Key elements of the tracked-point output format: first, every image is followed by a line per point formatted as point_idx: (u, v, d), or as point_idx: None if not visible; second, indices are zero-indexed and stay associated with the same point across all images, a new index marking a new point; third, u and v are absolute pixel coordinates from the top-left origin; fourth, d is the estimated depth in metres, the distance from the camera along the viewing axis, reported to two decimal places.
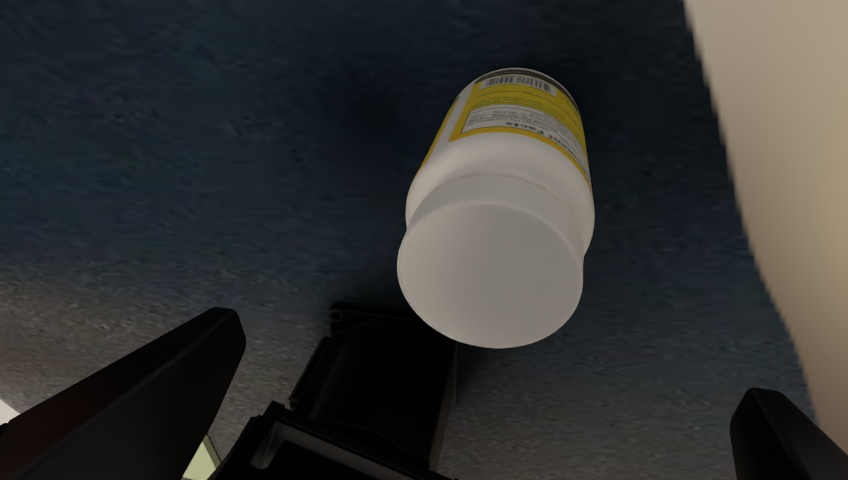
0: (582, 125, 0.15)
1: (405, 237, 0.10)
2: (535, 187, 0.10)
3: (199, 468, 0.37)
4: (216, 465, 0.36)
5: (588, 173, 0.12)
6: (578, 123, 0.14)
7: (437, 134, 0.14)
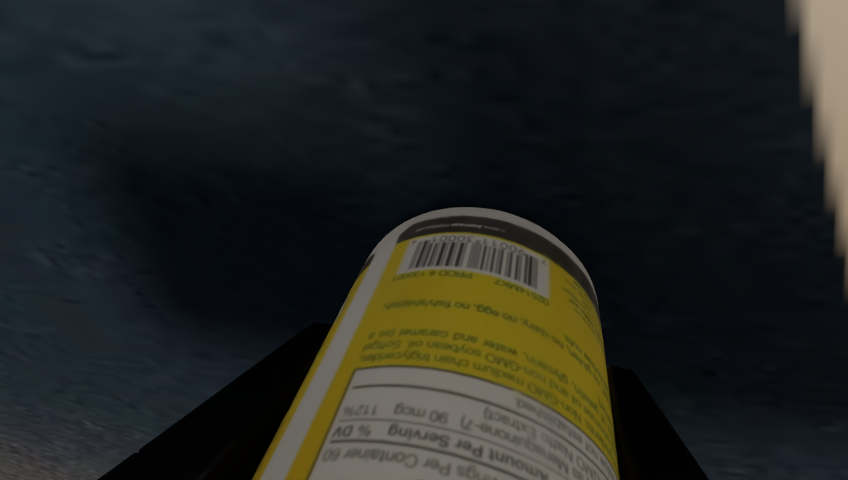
0: (599, 318, 0.08)
1: None
2: None
3: None
4: None
5: None
6: (594, 348, 0.07)
7: (307, 374, 0.07)
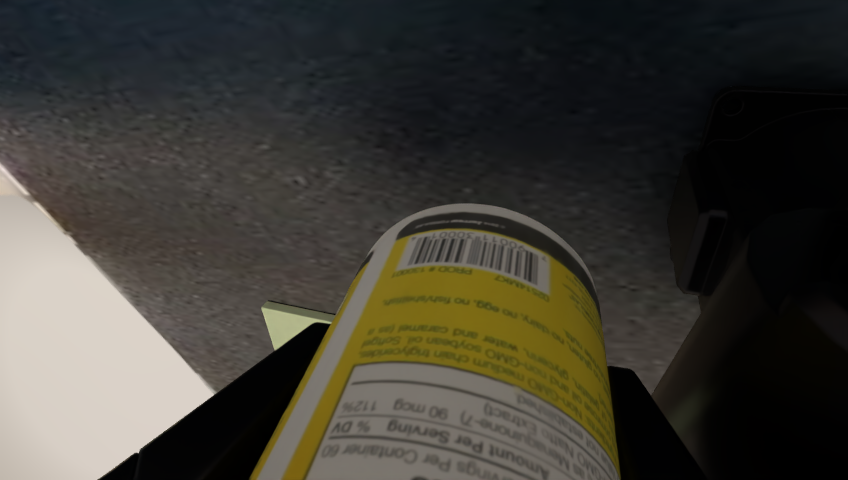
0: (599, 315, 0.08)
1: None
2: None
3: None
4: None
5: None
6: (594, 344, 0.07)
7: (306, 371, 0.07)
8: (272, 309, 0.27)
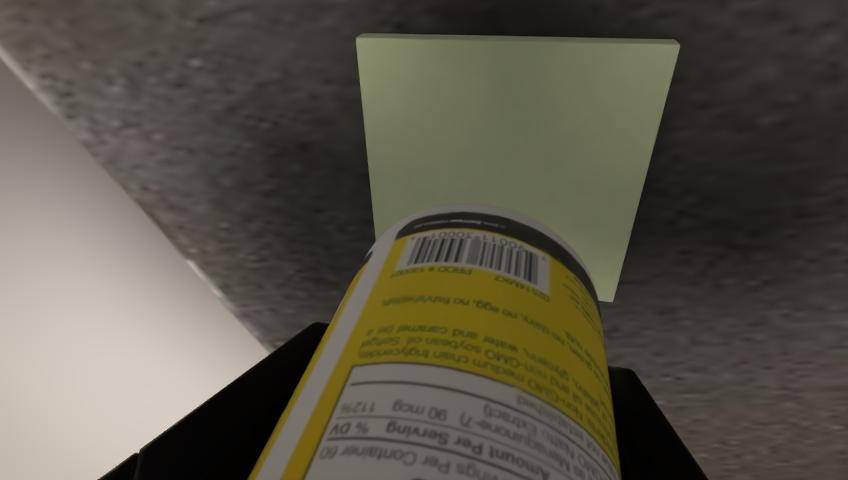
0: (600, 315, 0.08)
1: None
2: None
3: (572, 244, 0.15)
4: None
5: None
6: (595, 345, 0.07)
7: (305, 371, 0.07)
8: (382, 37, 0.13)
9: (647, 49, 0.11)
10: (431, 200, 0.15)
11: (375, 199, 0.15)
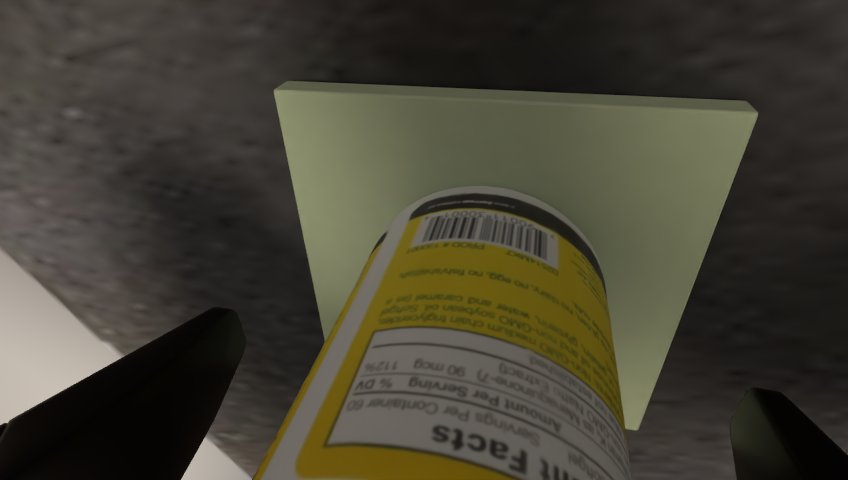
0: (605, 293, 0.08)
1: None
2: None
3: None
4: None
5: None
6: (601, 317, 0.07)
7: (325, 342, 0.07)
8: (310, 90, 0.09)
9: (706, 118, 0.07)
10: None
11: (319, 294, 0.11)
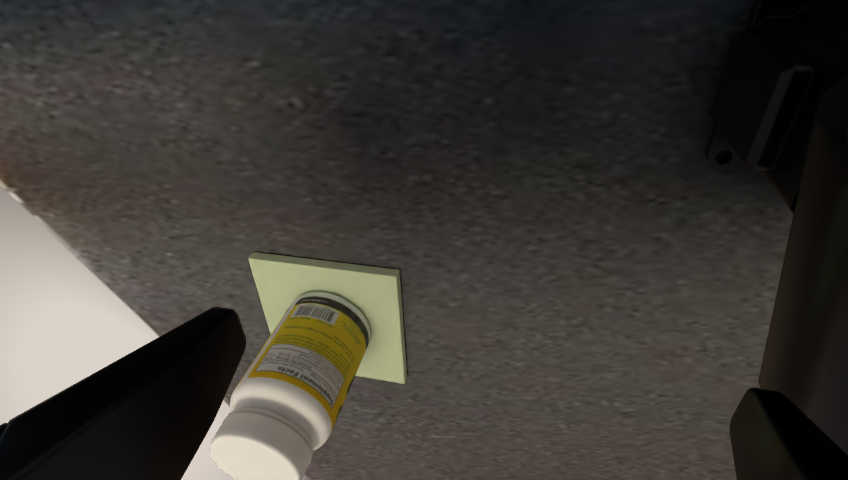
0: (362, 330, 0.24)
1: None
2: (274, 420, 0.19)
3: (375, 355, 0.27)
4: (403, 348, 0.26)
5: (333, 387, 0.21)
6: (348, 340, 0.23)
7: None
8: (261, 259, 0.25)
9: (382, 277, 0.23)
10: None
11: (270, 326, 0.28)
